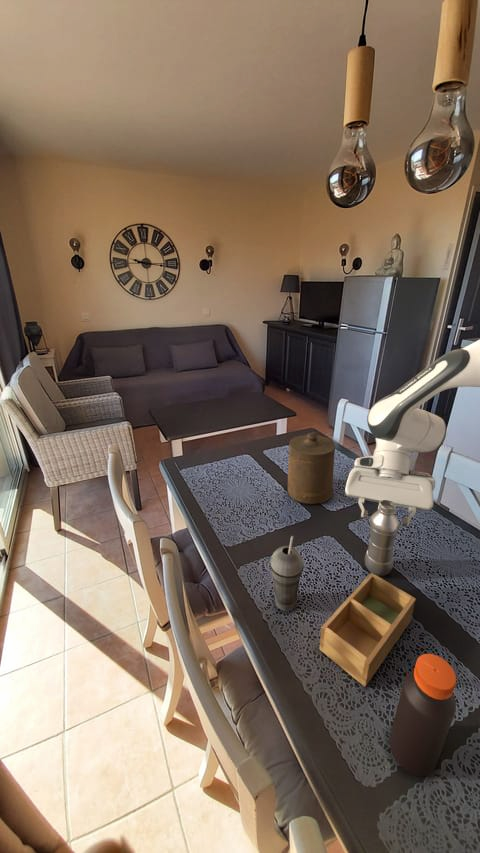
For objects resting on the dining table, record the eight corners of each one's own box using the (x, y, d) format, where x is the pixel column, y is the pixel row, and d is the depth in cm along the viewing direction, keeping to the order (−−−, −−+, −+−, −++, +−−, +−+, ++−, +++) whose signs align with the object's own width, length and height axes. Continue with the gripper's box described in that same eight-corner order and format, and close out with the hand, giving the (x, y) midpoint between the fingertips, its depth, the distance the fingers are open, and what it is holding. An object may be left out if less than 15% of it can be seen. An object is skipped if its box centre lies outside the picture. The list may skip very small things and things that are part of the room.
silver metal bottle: (383, 584, 87) (395, 517, 79) (358, 568, 92) (367, 503, 84) (396, 570, 91) (409, 504, 83) (371, 555, 96) (381, 492, 87)
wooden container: (317, 476, 132) (321, 421, 123) (340, 498, 119) (346, 439, 110) (280, 484, 128) (281, 428, 119) (299, 508, 115) (302, 447, 106)
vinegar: (389, 766, 56) (410, 686, 47) (389, 719, 61) (408, 640, 53) (438, 786, 53) (469, 706, 45) (433, 735, 59) (460, 655, 51)
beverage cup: (283, 584, 88) (285, 518, 80) (307, 602, 83) (312, 533, 75) (263, 602, 83) (263, 534, 75) (288, 622, 78) (290, 551, 70)
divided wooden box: (410, 620, 78) (416, 598, 75) (365, 687, 66) (369, 664, 63) (367, 593, 85) (371, 572, 82) (319, 649, 73) (321, 626, 70)
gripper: (433, 477, 91) (429, 532, 87) (349, 464, 98) (342, 515, 94) (438, 470, 85) (434, 529, 81) (349, 457, 92) (341, 511, 88)
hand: (384, 521), depth 88 cm, fingers open, 8 cm apart
